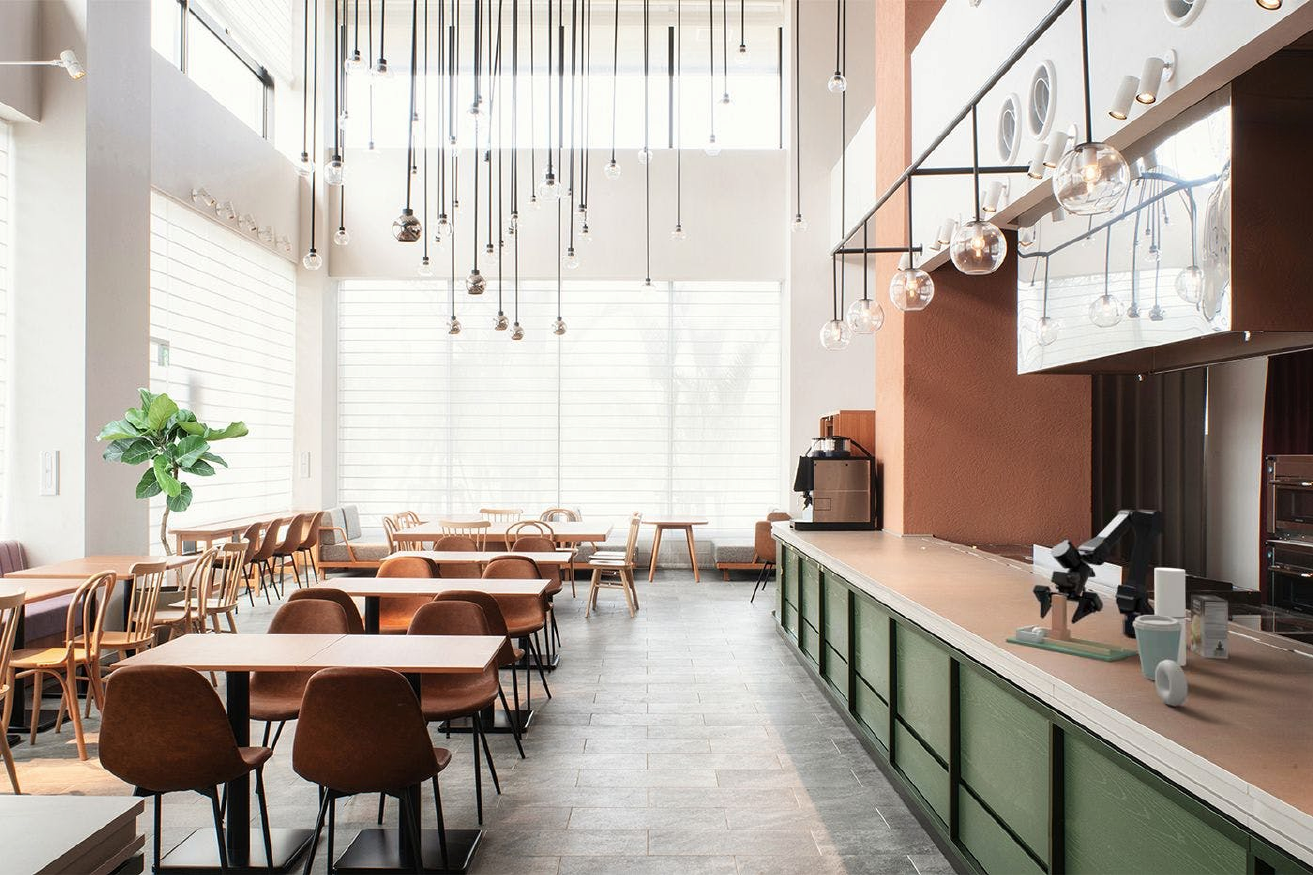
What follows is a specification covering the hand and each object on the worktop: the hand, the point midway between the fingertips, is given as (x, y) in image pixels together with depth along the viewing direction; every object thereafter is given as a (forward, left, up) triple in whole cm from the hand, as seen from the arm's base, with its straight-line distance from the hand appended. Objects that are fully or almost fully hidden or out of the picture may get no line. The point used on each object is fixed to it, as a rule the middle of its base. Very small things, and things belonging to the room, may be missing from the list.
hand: (1056, 620), depth 247 cm
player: (-1, -1, -6) cm, 7 cm away
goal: (+4, -5, -8) cm, 10 cm away
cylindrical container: (-26, +13, -8) cm, 30 cm away
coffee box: (-40, 0, -8) cm, 40 cm away
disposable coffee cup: (-17, +32, -8) cm, 37 cm away
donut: (-12, +57, -8) cm, 59 cm away
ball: (+4, -5, -5) cm, 8 cm away
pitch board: (-3, +1, -8) cm, 8 cm away
